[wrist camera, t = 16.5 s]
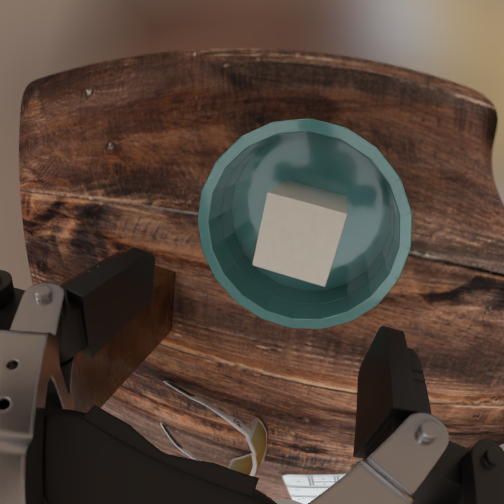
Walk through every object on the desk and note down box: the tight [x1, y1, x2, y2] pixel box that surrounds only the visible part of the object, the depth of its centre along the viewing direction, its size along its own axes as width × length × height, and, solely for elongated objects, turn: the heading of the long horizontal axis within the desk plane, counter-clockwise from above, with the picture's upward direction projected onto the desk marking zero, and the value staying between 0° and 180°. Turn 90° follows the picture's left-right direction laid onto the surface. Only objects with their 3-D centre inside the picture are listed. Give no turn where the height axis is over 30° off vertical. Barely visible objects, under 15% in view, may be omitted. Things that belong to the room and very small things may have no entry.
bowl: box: [198, 118, 412, 329], centre depth 21 cm, size 14×14×5 cm
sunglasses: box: [160, 381, 267, 476], centre depth 34 cm, size 14×15×5 cm
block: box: [252, 180, 347, 287], centre depth 20 cm, size 4×4×6 cm
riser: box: [59, 252, 175, 413], centre depth 21 cm, size 7×7×22 cm
